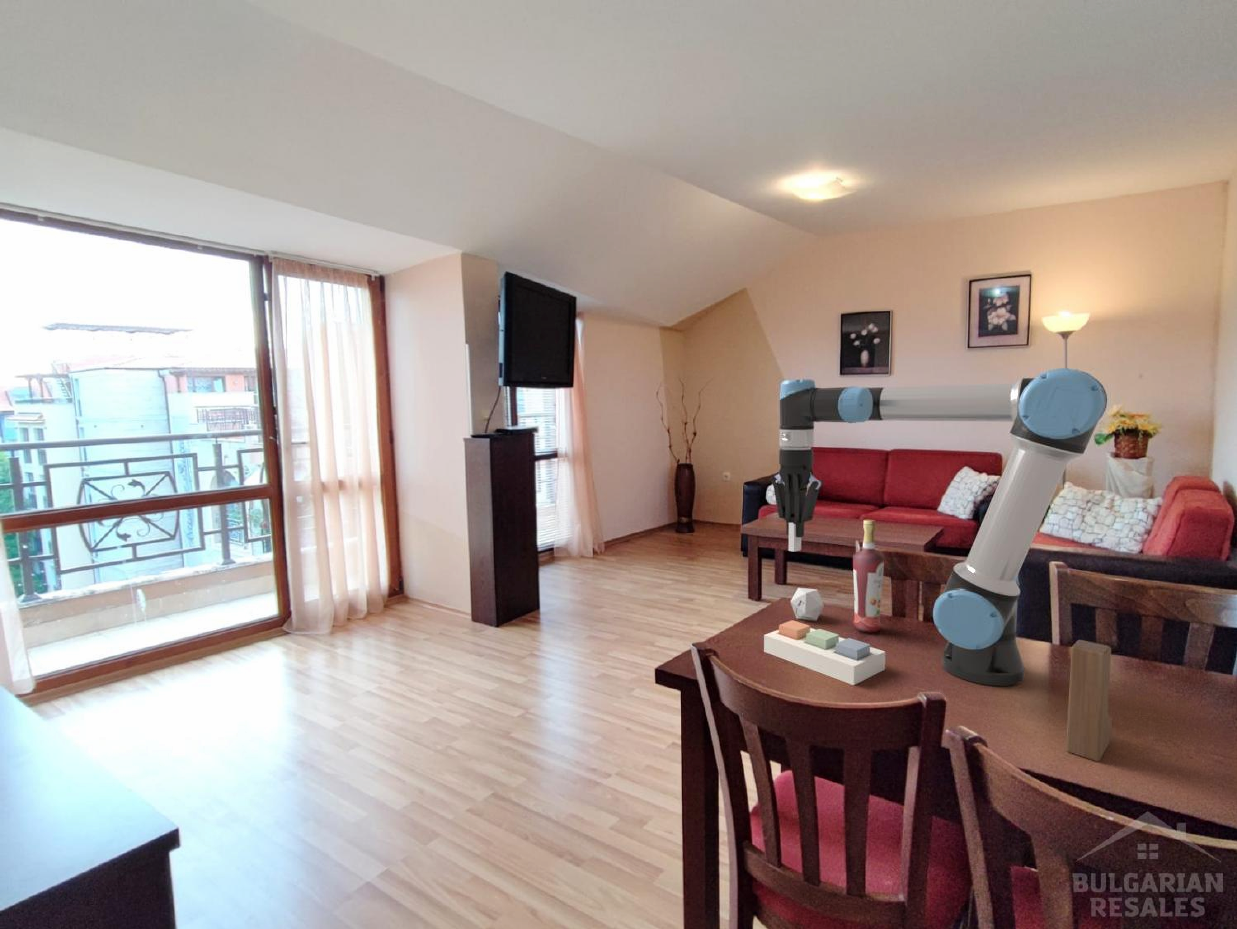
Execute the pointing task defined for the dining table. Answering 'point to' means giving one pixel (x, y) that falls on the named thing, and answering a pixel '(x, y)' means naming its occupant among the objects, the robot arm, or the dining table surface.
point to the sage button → (822, 639)
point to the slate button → (853, 649)
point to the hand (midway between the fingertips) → (794, 550)
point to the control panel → (824, 658)
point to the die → (807, 604)
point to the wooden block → (1089, 700)
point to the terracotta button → (794, 630)
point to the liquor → (867, 582)
